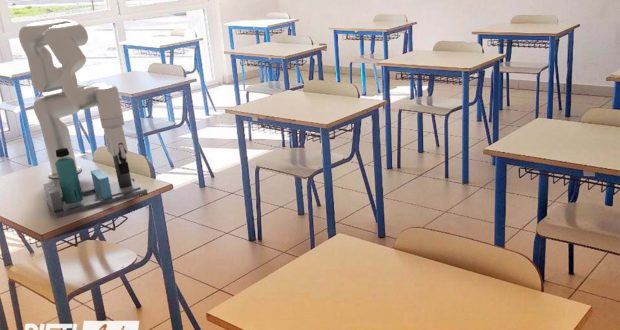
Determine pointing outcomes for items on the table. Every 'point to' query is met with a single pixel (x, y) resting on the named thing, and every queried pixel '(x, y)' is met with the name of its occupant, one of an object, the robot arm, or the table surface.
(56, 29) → the robot arm
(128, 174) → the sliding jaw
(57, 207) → the clamp frame
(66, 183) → the beverage bottle
